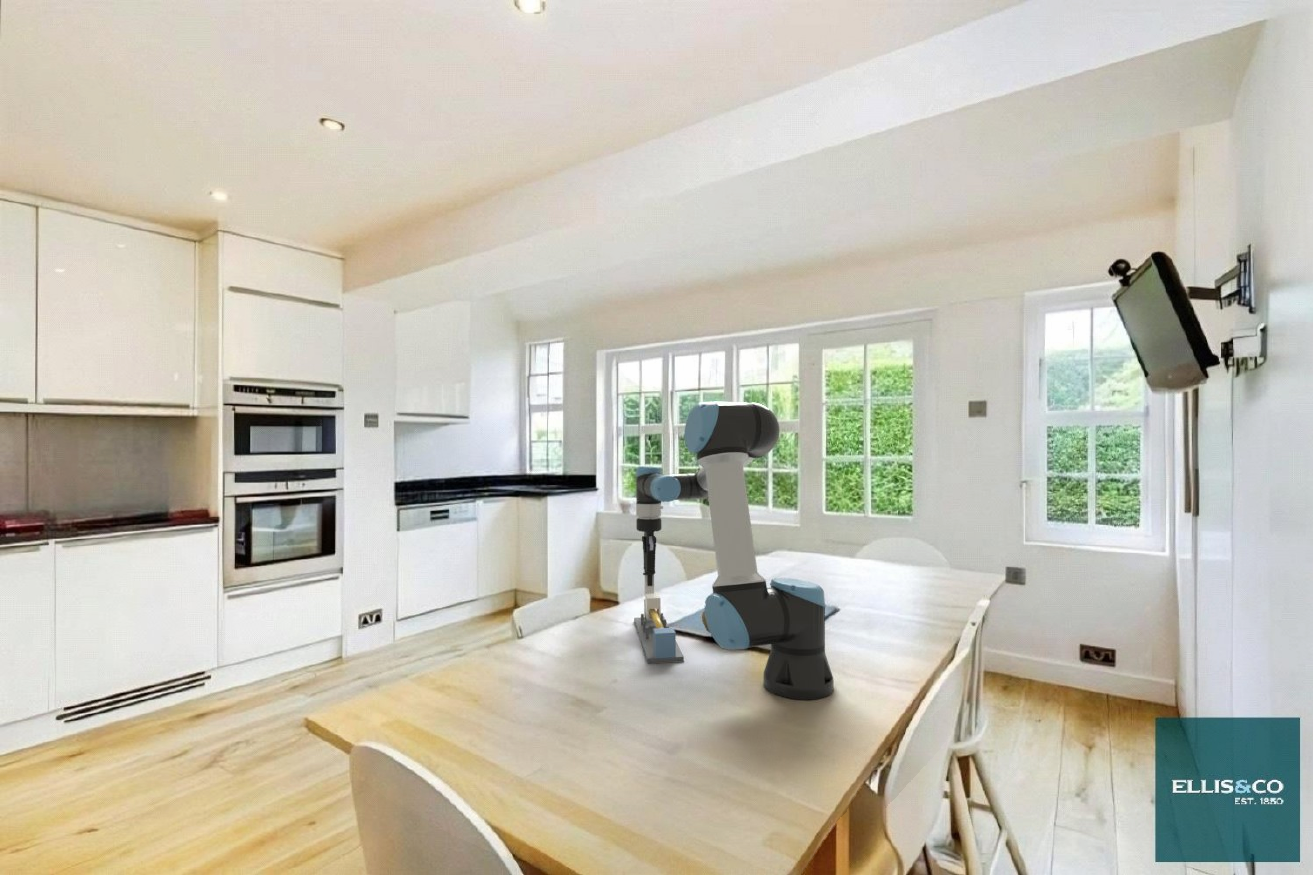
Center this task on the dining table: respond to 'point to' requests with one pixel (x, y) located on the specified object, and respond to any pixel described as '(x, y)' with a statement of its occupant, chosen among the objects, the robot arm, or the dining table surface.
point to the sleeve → (652, 605)
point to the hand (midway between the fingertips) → (649, 595)
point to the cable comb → (657, 639)
